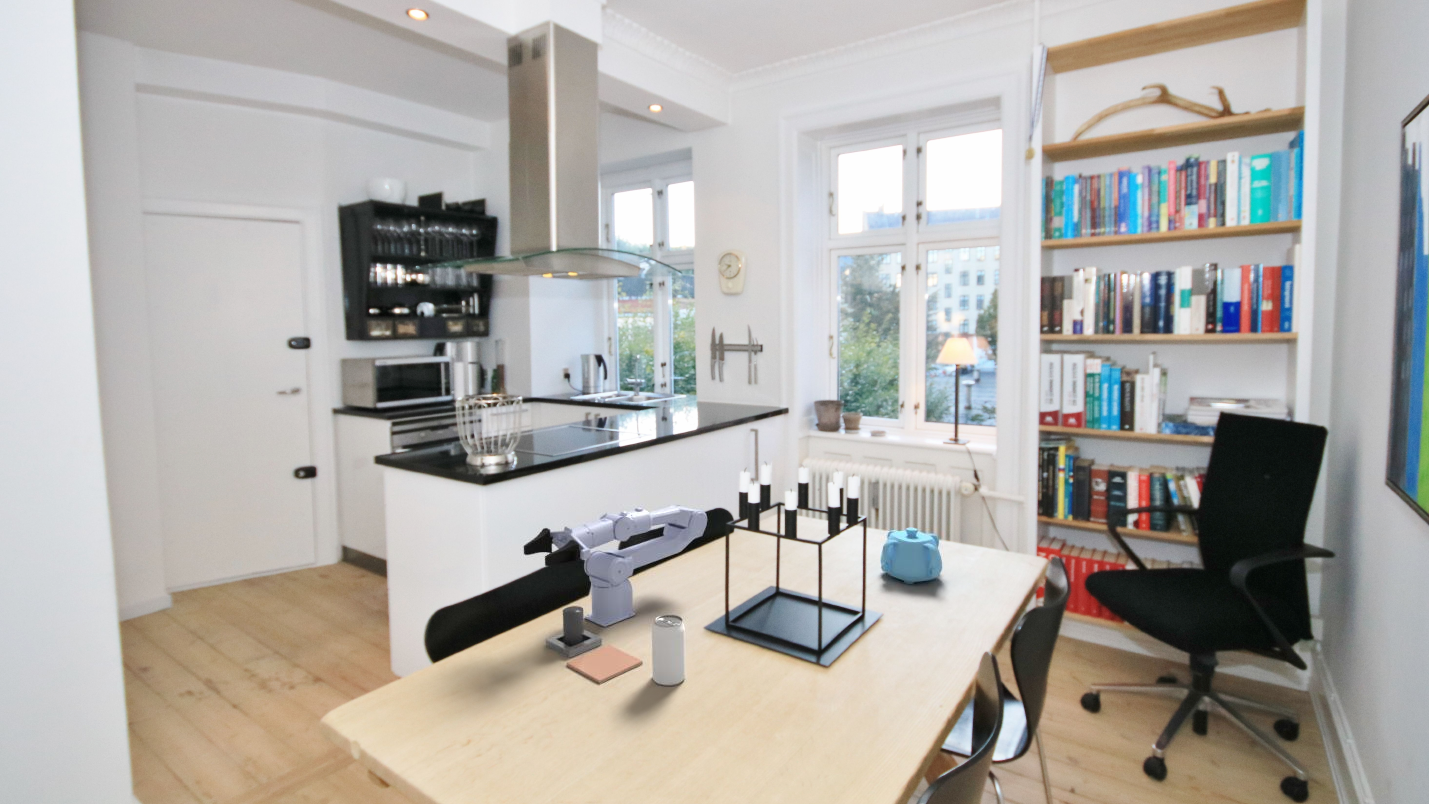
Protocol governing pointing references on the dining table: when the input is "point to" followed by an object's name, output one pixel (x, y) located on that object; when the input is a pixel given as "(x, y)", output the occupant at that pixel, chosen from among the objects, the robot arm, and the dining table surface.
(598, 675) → the tile
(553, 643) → the socket collar
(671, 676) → the can
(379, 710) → the dining table surface
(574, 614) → the plug
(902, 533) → the decorative pot
